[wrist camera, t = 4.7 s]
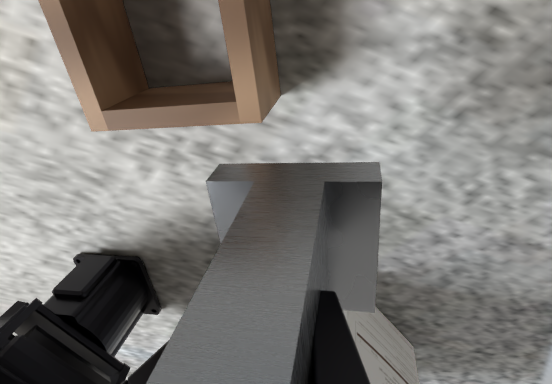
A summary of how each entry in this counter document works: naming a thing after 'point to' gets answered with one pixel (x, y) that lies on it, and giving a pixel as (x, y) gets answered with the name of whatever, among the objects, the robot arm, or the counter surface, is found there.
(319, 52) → the counter surface
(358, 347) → the supplement box
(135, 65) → the square frame
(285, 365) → the bracket
